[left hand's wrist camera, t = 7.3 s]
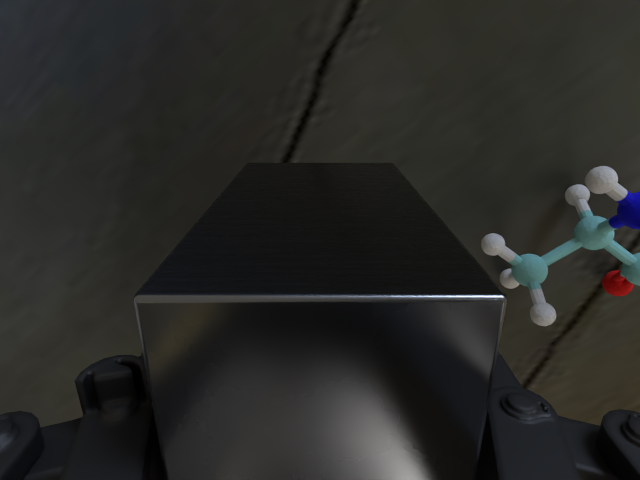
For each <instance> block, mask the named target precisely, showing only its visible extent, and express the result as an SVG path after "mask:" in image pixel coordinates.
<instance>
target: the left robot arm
mask: <svg viewBox="0 0 640 480" xmlns="http://www.w3.org/2000/svg"><path fill="white" fill-rule="evenodd" d="M75 384H76V388H77V392H78V396H79V399H80V403H81V407H82V411H83V417H82V418H78V419H75V420H72V421H68V422H63V423H59V424H55V425H50V426H46V427H42V428H40V424H39V421H38V418H37V417H36V416H34V415H33V414H32V413H29V412H22V411H18V412H10V413H5V414H2V415H0V480H166V479H165V473H164V468H163V462H162V456H161V451H160V445H159V440H158V434H157V429H156V423H155V418H154V412H153V407H152V401H151V396H150V390H149V385H148V379H147V374H146V368H145V363H144V357H143V352H142V353H141V356H140V357H137V356H133V355H117V356H113V357H109V358H105V359H102V360H100V361H98V362H96V363H94V364H91V365H90V366H89V367H87V368H86V369H85V370H83V371H82V372H81V373H80V374H79V376H78V377H77V378H76V380H75ZM475 480H640V413H638V412H635V411H628V410H614V411H609V412H608V413H607V414H606V415H605V416H603V419H602V422H601V426H597V425H593V424H589V423H584V422H580V421H576V420H571V419H568V418H564V417H561V416H558V415H557V414H556V412H555V410H554V409H553V407H552V406H551V404H549V403H548V402H547V401H546V400H545V399H543V398H542V397H541V396H539V395H537V394H535V393H533V392H531V391H529V390H527V389H523V388H522V387H521V385H520V383H519V382H518V380H517V379H516V377H515V376H514V374H513V373H512V371H511V370H510V368H509V367H508V365H507V364H506V362H505V360H504V359H503V357H502V356H501V355H499V351H498V356H497V361H496V367H495V372H494V378H493V383H492V389H491V394H490V400H489V405H488V411H487V416H486V422H485V427H484V433H483V438H482V444H481V449H480V455H479V460H478V465H477V471H476V476H475Z"/></svg>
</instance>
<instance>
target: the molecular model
mask: <svg viewBox="0 0 640 480" xmlns="http://www.w3.org/2000/svg"><path fill="white" fill-rule="evenodd" d="M617 182H618V176H617V174H616V172H615V171H614V170H613V169H612V168H610V167H607V166H600V167H596V168H594V169H592V170H591V171H589V172H588V174H587V175H586V178H585V184H586V186H587V188H588V189H589V190H590V191H591V192H593V193H596V194H603V193H606V194H607V195H609V196H610V197H611V198H613V199H614V200H615V201H617V202H618V203H619V205H618V208H617V215H615V216H613V217H611V218H609V219H605V218H603V217H600V216H593V214H592V212H591V210H590V208H589V206H588V203H587V201H588V199H589V197H590V192H589V190H588V189H587V188H586V187H585V186H583V185H573V186H571V187H569V188H568V189H567V191H566V193H565V199H566V201H567V202H568V203H569V204H571V205H573V206H575V207H576V209H577V212H578V214H579V217H580V219H581V221H579V222H578V223H577V225H576V226H575V229H574V238H573V239H571V240H569V241H567V242H566V243H564V244H562V245H561V246H559V247H557V248H555V249H554V250H552V251H550V252H549V253H547V254H545V255H543V256H542V257H539V256H537V255H535V254H524V255H521V256H518V255H517V254H516V253H514V252H513V251H511V250H510V249H509V248H507V247H506V246H505V241H504V239H503V237H502V236H500V235H498V234H495V233H491V234H488V235H486V236H485V237H484V238H483V239H482V242H481V247H482V250H483V251H484V252H485V253H486V254H488V255H492V256H494V255H499V256H500V257H502V258H503V259H504V260H506V261H507V262H509V263H510V264H511V265H512V267H511V269H506V270H504V271H503V272H502V273H501V274H500V282H501V284H502V285H503V286H504V287H506V288H510V289H512V288H515V287H517V286H518V285H519V284H521V285H524V286H528V288H529V292H530V295H531V298H532V302H533V306H532V308H531V310H530V317H531V319H532V321H533V322H535V323H536V324H538V325H540V326H548V325H550V324H552V323H553V322H554V321H555V319H556V311H555V309H554V308H553V307H552V306H551V305H550V304H548V303H546V301H545V298H544V295H543V292H542V289H541V285H540V284H541V283H542V282H543V281H544V280H545V279H546V277H547V274H548V268H547V266H549V265H550V264H552V263H554V262H555V261H557V260H559V259H561V258H562V257H564V256H566V255H568V254H570V253H571V252H573V251H575V250H577V249H578V248H580V247H584V248H586V249H590V250H598V249H602V248H604V249H606V250H607V251H608V252H610V253H611V254H612V255H614V256H615V257H616V258H618V259H619V260H620V261H622V262H623V264H622V270H621V271H619V270H615V271H610V272H608V273H607V274H606V275H605V276H604V278H603V280H602V284H603V287H604V289H605V290H606V292H608V293H609V294H611V295H615V296H623V295H626V294H628V293H629V292H630V291H631V290H632V288H633V286H634V284H635V285H639V286H640V253H636V254H633V255H632V254H631V253H629V252H628V251H627V250H626V249H624V248H623V247H622V246H620V245H619V244H618V243H617V242H615V241H614V240H613V238H614V230H615V229H617V228H620V227H622V226H624V225H626V226H627V227H630V228H632V229H640V192H636V193H632V194H631V193H630V192H628V191H627V190H626V189H625V188H623V187H622V186H621V185H620V184H618V183H617Z"/></svg>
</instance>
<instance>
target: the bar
mask: <svg viewBox="0 0 640 480" xmlns="http://www.w3.org/2000/svg"><path fill="white" fill-rule="evenodd" d="M506 306H507V297H506V294H505V293H504V292H503V291H502V290H501V289H500V287H499V286H498V285H497V284H496V283H495V282H494V280H493V279H492V278H491V277H490V276H489V275H488V273H487V272H486V271H485V270H484V269H483V268H482V266H481V265H480V264H479V263H478V262H477V261H476V259H475V258H474V257H473V256H472V255H471V254H470V252H469V251H468V250H467V249H466V248H465V247H464V245H463V244H462V243H461V242H460V241H459V240H458V238H457V237H456V236H455V235H454V234H453V233H452V232H451V230H450V229H449V228H448V227H447V226H446V225H445V223H444V222H443V221H442V220H441V219H440V218H439V216H438V215H437V214H436V213H435V212H434V211H433V209H432V208H431V207H430V206H429V205H428V204H427V202H426V201H425V200H424V199H423V198H422V197H421V195H420V194H419V193H418V192H417V191H416V190H415V188H414V187H413V186H412V185H411V184H410V183H409V181H408V180H407V179H406V178H405V177H404V176H403V174H402V173H401V172H400V171H399V170H398V169H397V167H396V166H395V165H394V164H393V163H248V164H246V165H245V166H244V168H243V169H242V170H241V171H240V172H239V173H238V175H237V176H236V177H235V178H234V179H233V180H232V182H231V183H230V184H229V185H228V186H227V188H226V189H225V190H224V191H223V192H222V193H221V195H220V196H219V197H218V198H217V199H216V200H215V202H214V203H213V204H212V205H211V206H210V207H209V209H208V210H207V211H206V212H205V213H204V215H203V216H202V217H201V218H200V219H199V220H198V222H197V223H196V224H195V225H194V226H193V227H192V229H191V230H190V231H189V232H188V233H187V234H186V236H185V237H184V238H183V239H182V240H181V241H180V243H179V244H178V245H177V246H176V247H175V249H174V250H173V251H172V252H171V253H170V254H169V256H168V257H167V258H166V259H165V260H164V261H163V263H162V264H161V265H160V266H159V267H158V268H157V270H156V271H155V272H154V273H153V274H152V275H151V277H150V278H149V279H148V280H147V281H146V283H145V284H144V285H143V286H142V287H141V288H140V290H139V291H138V292H137V293H136V294H135V296H134V307H135V313H136V318H137V324H138V329H139V335H140V340H141V346H142V352H143V357H144V363H145V368H146V374H147V379H148V385H149V390H150V396H151V401H152V407H153V412H154V418H155V423H156V429H157V434H158V440H159V445H160V451H161V456H162V462H163V468H164V473H165V479H166V480H475V476H476V471H477V465H478V460H479V455H480V449H481V444H482V438H483V433H484V427H485V422H486V416H487V411H488V405H489V400H490V394H491V389H492V383H493V378H494V372H495V367H496V361H497V356H498V350H499V345H500V339H501V334H502V328H503V323H504V317H505V312H506Z"/></svg>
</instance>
